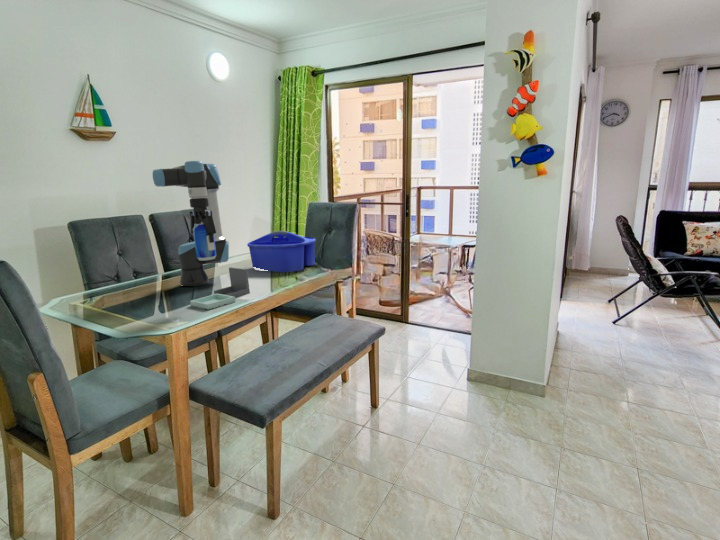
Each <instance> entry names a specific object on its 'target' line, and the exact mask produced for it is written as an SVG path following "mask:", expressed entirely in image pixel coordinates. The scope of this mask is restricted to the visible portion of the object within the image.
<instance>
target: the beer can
mask: <svg viewBox="0 0 720 540" xmlns="http://www.w3.org/2000/svg"><path fill="white" fill-rule="evenodd" d="M192 234H193V235H192V236H193V242H195V249H196V256H197V258H198V259H199V260H200V261H204V260H212V259H215V257H216V255H217V254H216V247H215V239H214V247H215V250H210V251H208V244H207V237H206V234H207V232H206V229H205V227H204V224H203V222H201V224H194V228H193V233H192ZM213 238H214V235H213Z"/></svg>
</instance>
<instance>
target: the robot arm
mask: <svg viewBox="0 0 720 540" xmlns="http://www.w3.org/2000/svg"><path fill="white" fill-rule="evenodd" d="M152 180H153V183H154V186H155V187H158V188H159V187H162V188H164V187H174V186H175V187H182V188H183V187H184V188H187V192H188V196H189V198H190V199H189V206H190V208H192V209H193V210H191V211H189V217H190V233H191V234H193V228H194V224H201V223H203V224H204V227H205V229H206V232H207V234H206V237H207V244H208V251H210V250H215V247H216V254H217V255H216V257H215V259H212V260H204V261H200V260H199V259H198V258H197V256H196V249H195V242H194V241H191V242H186V243H184V244H180V245H179V246H178V248H177V249H178V258H179V263H180V271H181V274H180V279H179V285H180V284H181V285H183V286H194V287H198V286H199V287H200V286H203V285H207V284H209V282H210V280H209V276H208V275H207V273H206V271H205V268H204V265H211V264H218V263H219V264H221V263H227V262H228V261H229V255H230V254H229V253H230V252H229V251H230V250H229V249H230V246H229V245H230V243H229V241H228V240H227V238H226V237H225V236H224V235H223V232H222V223H221V216H220V209H219V201H218V193H217V192H218V191H219V190H220V187H219V186H221V185H222V183H221V177H220V174H219V169H218V167H217V165H216V164H215V163H204V162H203V161H202V160H190V161H189V160H188V161H185V162H184V165H183V164H182V165H180V166H176V167H172V168H157V169H153V170H152ZM213 235H214V238H213ZM214 239H215V247H214Z"/></svg>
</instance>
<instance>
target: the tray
mask: <svg viewBox="0 0 720 540" xmlns="http://www.w3.org/2000/svg"><path fill="white" fill-rule="evenodd" d="M189 302H190V307H193V308H196V309H197V308H198V309H200V310H201V309H202V310H205V309H207V310H206V311H210V310H209V309H211V310H213V309H212V308H214V307H217V306H221V305H224V304H227V305H230V304H229V303H231V304H234V303H236V297H234V296H229V294H228V295H227V294H218V293H217V294H214V293H213V294H210V295H207V296H203V297H200V298H195V299H192V300H190V301H189ZM233 302H234V303H233ZM224 306H225V305H224ZM221 307H222V306H221ZM217 308H218V307H217ZM214 309H215V308H214Z"/></svg>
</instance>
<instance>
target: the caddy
mask: <svg viewBox="0 0 720 540" xmlns="http://www.w3.org/2000/svg"><path fill="white" fill-rule="evenodd" d="M316 241H317V239H316V238H315V237H310V236H302V235H299V234H296V233H293V232H289V231H286V230H274V231H272V232H269V233H268V234H265V235H263V236H260V237H259V238H256V239H254V240H251V241H249V242H248V243H247V245H246V246H247V247H248V248H249V255H250V259H251V264H252V265H251V266H252V268H253V267H256V268H260V269H264V270H268V271H274V272H273V273H292V272H300V271H303V270H304V267H305V266H308V267H310V266H314V265H315V262H316V261H315V260H316V257H315V254H316V252H315V243H316Z"/></svg>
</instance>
